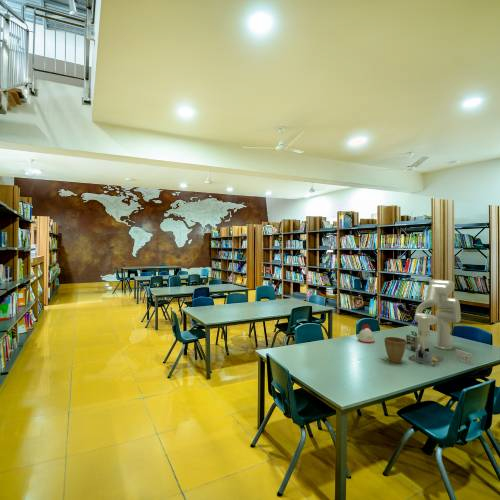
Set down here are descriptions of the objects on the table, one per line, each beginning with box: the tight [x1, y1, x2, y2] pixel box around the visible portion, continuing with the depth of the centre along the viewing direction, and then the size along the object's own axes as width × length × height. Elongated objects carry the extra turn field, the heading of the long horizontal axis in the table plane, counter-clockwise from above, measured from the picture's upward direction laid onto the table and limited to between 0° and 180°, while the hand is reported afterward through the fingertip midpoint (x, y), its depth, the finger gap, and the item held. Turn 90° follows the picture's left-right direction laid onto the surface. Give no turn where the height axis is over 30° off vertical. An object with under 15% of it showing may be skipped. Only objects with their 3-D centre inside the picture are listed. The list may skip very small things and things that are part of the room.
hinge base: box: [408, 354, 444, 367], centre depth 233 cm, size 18×19×3 cm
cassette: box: [455, 348, 473, 366], centre depth 229 cm, size 12×2×8 cm, turn 19°
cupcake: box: [357, 323, 376, 345], centre depth 280 cm, size 14×14×15 cm
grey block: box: [415, 349, 433, 363], centre depth 230 cm, size 3×10×7 cm, turn 36°
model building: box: [405, 330, 422, 353], centre depth 257 cm, size 9×9×15 cm
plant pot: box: [383, 336, 407, 364], centre depth 231 cm, size 15×15×16 cm
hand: (423, 356), depth 230 cm, fingers open, 9 cm apart
